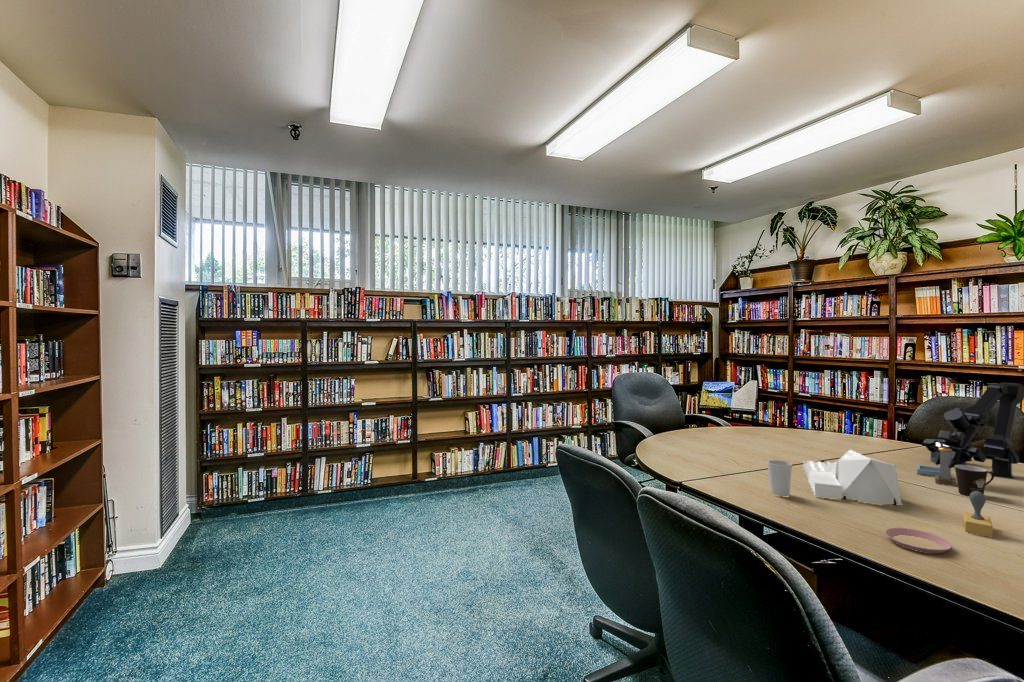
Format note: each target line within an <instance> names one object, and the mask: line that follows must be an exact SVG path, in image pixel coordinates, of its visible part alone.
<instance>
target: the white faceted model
mask: <svg viewBox="0 0 1024 682" xmlns="http://www.w3.org/2000/svg"><path fill="white" fill-rule="evenodd" d="M802 465H803V466H802V472H803V471H804V472H803V473H804V474H805V475H804V476H806V475H807V476H806V477H805V479H806V478H808V479H807V480H808V484H809V483H810V484H809V486H810V485H811V487H810V489H811V488H812V489H811V491H812V490H813V491H812V493H813V492H814V494H813V496H814V495H815V496H819V497H827V498H836V499H841V498H845V497H846V498H848V499H856V500H858V501H859V502H868V503H875V504H882V505H881V506H883V505H884V504H883V503H886V504H885V505H887V504H894V505H895V504H896V505H903V502H902V500H901V495H900V487H899V477H898V470H897V465H896V464H893V463H889V462H885V461H883V460H879V459H876V458H872V457H868V456H865V455H863V454H861V453H859V452H858V451H857V452H856V451H855V450H852V449H851V448H850V449H849V450H848V451H846V452H845V453H844V454H843V455H842V456H841V457H840V458H839V459H836V461H835V462H830V461H827V462H826V461H820V460H819V461H812V459H810V460H806V462H805V460H803V464H802ZM845 495H846V496H845ZM815 496H814V497H815ZM844 496H845V497H844ZM846 498H845V499H846ZM894 499H895V500H894ZM875 504H874V505H875Z"/></svg>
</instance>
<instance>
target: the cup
mask: <svg viewBox="0 0 1024 682" xmlns="http://www.w3.org/2000/svg"><path fill="white" fill-rule="evenodd" d="M792 469H793V463H792V462H790V461H786V460H779V459H769V460H768V461H767V470H768V477H769V488H770V491H769V493H770V492H771V493H772V494H775V495H779V496H788V495H790V496H791V493H790V492H791V483H792V481H791V479H792Z"/></svg>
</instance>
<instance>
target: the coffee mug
mask: <svg viewBox="0 0 1024 682" xmlns="http://www.w3.org/2000/svg"><path fill="white" fill-rule="evenodd" d="M954 469H955V478H956V484H957V490H958V494H959V493H960V495H961V494H962V495H961V496H964V495H965V497H968V496H969V497H968V498H970V494H971V493H972V492H973V491H979V492H981V493H983V494H984V495H985V490H986V486H987V485H989V484H990V483H991V482H993V480H994V478H995V476H994V475H993V473H992V472H990V470H989V471H988V469H986V468H985V467H981V466H975V465H969V464H967V465H955V467H954ZM988 474H990V476H991V477H990V479H989V480H988V481H987V477H988Z"/></svg>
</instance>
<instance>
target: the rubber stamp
mask: <svg viewBox="0 0 1024 682" xmlns="http://www.w3.org/2000/svg"><path fill="white" fill-rule="evenodd" d="M969 501H970V503H971V505H972V507H973V509H974V513H973V512H968V511H964V512H963V514H962V515H963V517H962V518H963V519H962V521H963V528H964V532H965V533H966V532H968V533H967V534H969V533H973V534H972V535H974V534H978V535H977V536H979V535H983V536H982V537H984V536H988V537H987V538H989V537H992V538H993V536H994V535H993V533H994V530H993V526H994V525H993V523H992V520H991V517H990V516H989V515H986V514H981V513H982V509H983V507H984V506H985V503H986V502H987V499H986V495H985V493H984V494H983V493H981V492H979V491H973V492H972V493H971V494H970V497H969Z"/></svg>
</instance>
